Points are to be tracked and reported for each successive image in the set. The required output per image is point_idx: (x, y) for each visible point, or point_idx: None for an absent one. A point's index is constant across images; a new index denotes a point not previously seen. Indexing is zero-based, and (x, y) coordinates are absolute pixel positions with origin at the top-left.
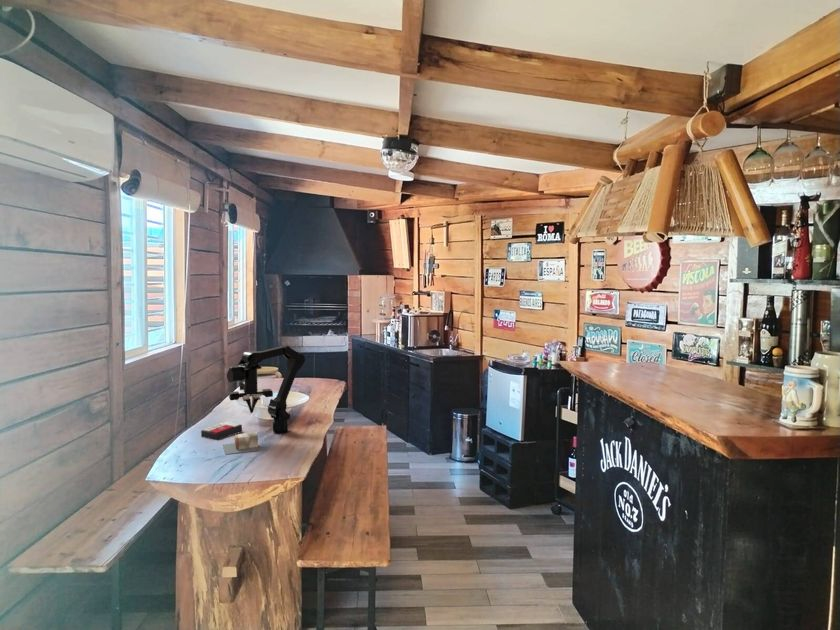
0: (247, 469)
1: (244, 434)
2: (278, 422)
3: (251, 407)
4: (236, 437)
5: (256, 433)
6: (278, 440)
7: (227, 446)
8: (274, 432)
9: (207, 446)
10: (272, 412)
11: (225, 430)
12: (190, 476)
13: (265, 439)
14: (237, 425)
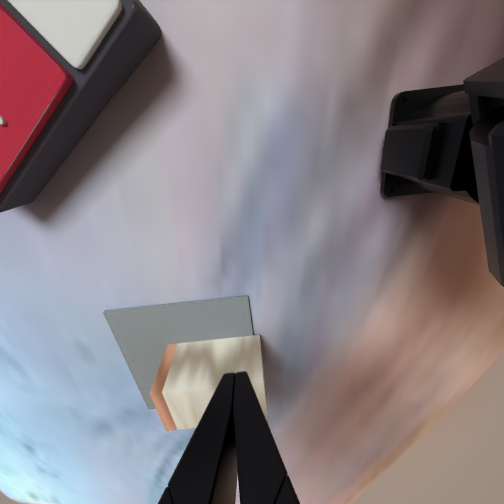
0: None
1: (201, 397)
2: (463, 199)
3: (236, 443)
4: (166, 425)
5: (264, 396)
6: (362, 309)
7: (133, 341)
8: (383, 184)
9: (31, 308)
10: (502, 250)
11: (29, 147)
12: (96, 497)
13: (307, 280)
14: (97, 39)
